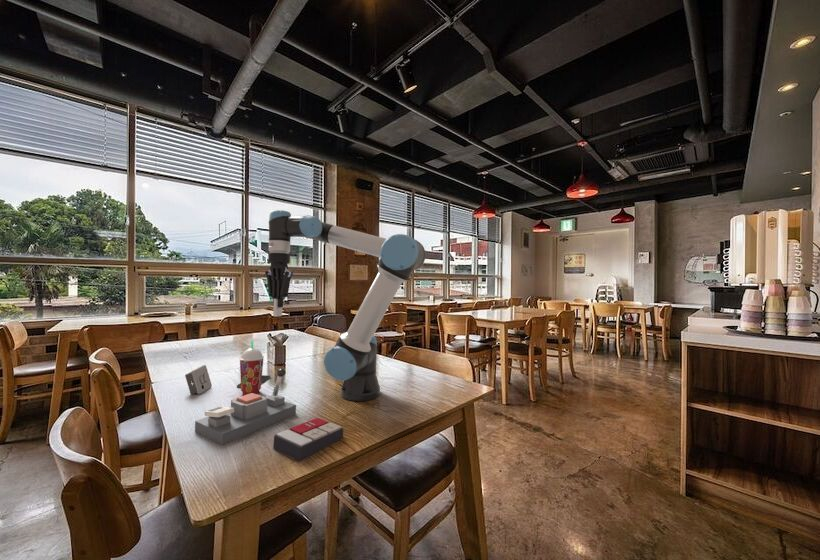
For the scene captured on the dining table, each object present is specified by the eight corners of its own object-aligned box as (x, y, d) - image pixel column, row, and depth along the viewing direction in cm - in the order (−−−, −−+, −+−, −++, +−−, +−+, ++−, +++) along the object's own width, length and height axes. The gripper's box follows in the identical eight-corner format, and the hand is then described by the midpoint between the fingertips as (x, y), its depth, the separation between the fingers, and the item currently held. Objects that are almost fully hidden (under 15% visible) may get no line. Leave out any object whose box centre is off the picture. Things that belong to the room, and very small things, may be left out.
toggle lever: (275, 392, 110) (283, 366, 108) (280, 396, 108) (288, 370, 107) (268, 394, 107) (276, 368, 106) (273, 399, 106) (281, 372, 104)
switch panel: (268, 404, 114) (269, 384, 114) (295, 414, 107) (296, 392, 107) (194, 431, 93) (195, 407, 93) (222, 445, 86) (223, 418, 86)
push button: (251, 405, 104) (252, 393, 104) (261, 409, 101) (261, 396, 101) (236, 410, 99) (236, 397, 99) (246, 414, 97) (246, 401, 97)
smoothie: (267, 389, 129) (268, 339, 129) (255, 397, 121) (256, 343, 121) (247, 388, 130) (248, 338, 130) (233, 396, 122) (235, 342, 122)
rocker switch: (220, 410, 96) (220, 406, 96) (234, 411, 93) (233, 407, 93) (204, 415, 92) (204, 411, 92) (218, 417, 89) (218, 412, 89)
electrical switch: (200, 395, 122) (198, 370, 122) (185, 396, 121) (183, 372, 121) (212, 387, 131) (210, 364, 131) (198, 388, 130) (196, 365, 130)
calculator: (344, 425, 92) (300, 444, 80) (343, 441, 92) (299, 462, 79) (317, 416, 98) (273, 432, 86) (316, 430, 98) (272, 448, 85)
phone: (235, 386, 131) (254, 375, 146) (235, 388, 131) (254, 377, 146) (255, 386, 130) (271, 375, 145) (255, 389, 130) (271, 378, 145)
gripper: (259, 252, 121) (257, 315, 121) (282, 251, 115) (280, 318, 115) (276, 254, 128) (275, 314, 128) (299, 253, 121) (297, 316, 121)
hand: (277, 316), depth 121 cm, fingers closed
